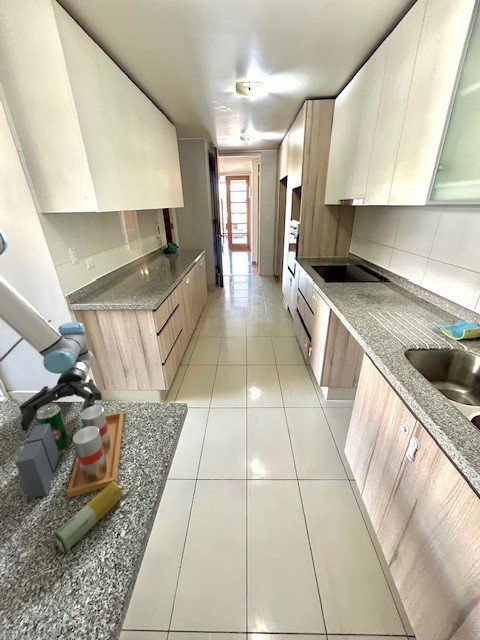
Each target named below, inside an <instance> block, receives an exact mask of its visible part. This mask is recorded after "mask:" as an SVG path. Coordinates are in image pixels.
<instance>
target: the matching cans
mask: <svg viewBox="0 0 480 640" xmlns="http://www.w3.org/2000/svg"><path fill="white" fill-rule="evenodd" d="M105 415H106V414H105V411H104V407H103V406H102V405H93V406H91V407H89V408H87V409H85V410H84V411H83V412H81V413H80V420H81V424H82V428H81V429H79V430H77V431H76V432H75V433H74V434H73V437H72V441H73V446H74V450H75V453H76V458H77V457H78V461H79V463H80V467H81V471H82V474H83V478H84V481H85V482H86V483H93V482H97V481H100V480H102V479H103V478H104V477H105V476H106V474H107V471H108V468H107V463H106V459H105V454H106V453H107V452H108V451H109V450H110V449H111V442H110V437H109V432H108V427H107V422H106V419H105Z"/></svg>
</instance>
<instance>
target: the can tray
mask: <svg viewBox="0 0 480 640" xmlns="http://www.w3.org/2000/svg"><path fill="white" fill-rule="evenodd" d="M124 416H125V415H124V411H118V412H112V413H108V414H105V419H106V422H107V427H108V432H109V437H110V442H111V449H110V450H109V451H108V452H107V453H106V454H105V459H106V463H107V468H108V471H107V474H106V476H105V477H104V478H103V479H102V480H100V481H97V482H93V483H86V482H85V481H84V478H83V474H82V471H81V467H80V463H79V461H78V457H77V456H76V458H75V462H74V465H73V468H72V473H71V476H70V480H69V483H68V487H67V490H66V495H67V498H71V497H75V496H79V495H82V494H86V493H91V492H93V491H97V490H100V489H105V488H106V487H107V486H108V485H109V484H110V483H111V482H113V481H114V482H115V483H117V484H118V475H119V465H120V464H119V463H120V454H121V445H122V435H123V427H124V426H123V425H124Z"/></svg>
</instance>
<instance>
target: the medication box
mask: <svg viewBox="0 0 480 640" xmlns="http://www.w3.org/2000/svg"><path fill="white" fill-rule="evenodd" d="M122 498H123V496H122V490H121V486H120V485H119V484H118V482H117V483H115V482H114V481H113V482H111V483H110V484H109V485H108V486H107V487H104V488H103V489H102V490H101V491H100V492H99V493H97V495H95V496H94V497H93V498H92V499H91V500H90V501H89V502H88V503H87V504H85V506H83V507H82V508H81V509H80V510H79V511H78V512H77V513H75V514H74V515H73V516H72V517H71V518H70V519H69V520H68V521H67V522H65V523H64V524H63V525H62V526H61V527H60V528H59V529H58V530H57V531H55V532H54V533H53V537H54V538H55V542H56V545H57V547H58V549H59V550H60V551H61V552H63V553H64V554H65V553H66V552H68V551H69V550H70V549H71V548H72V547H73V545H75V544H76V543H77V542H78V541H79V540H80V539H81V538H82V537H83V536H84V535H85V534H86V533H87V532H88V531H89V530H90V529H92V528H93V526H94V525H96V523H98V522H99V521H100V520H101V519H102V518H103V517H104V516H105V515H106V514H107V513H108V512H109V511H110V510H112V508H113V507H114V506H115V505H116V504H118V502H119V501H120V500H121V499H122Z"/></svg>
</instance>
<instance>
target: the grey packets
mask: <svg viewBox="0 0 480 640" xmlns="http://www.w3.org/2000/svg"><path fill="white" fill-rule="evenodd" d="M59 460H60V453H59V450H58V449H57V446H56V442H55V439H54V436H53V433H52V430H51V426H50V423H48V424H43V425H39V424H38V425H34V426H33V429H32V431H30V434H29V436H28V438H27V440H26V443H25V444H24V446H23V447H22V449H21V451H20V453H19V455H18V457H17V459H16V460H15V466H16V468H17V470H18V473H19V475H20V477H21V480H22V483H23V486H24V488H25V490H26V493H27V495H28V498H29V500H30V499H35V498H38V497H42V496H45V495H47V493H48V490H49V488H50V485H51V482H52V479H53V476H54V473H55V471H56V468H57V466H58V462H59Z"/></svg>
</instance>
